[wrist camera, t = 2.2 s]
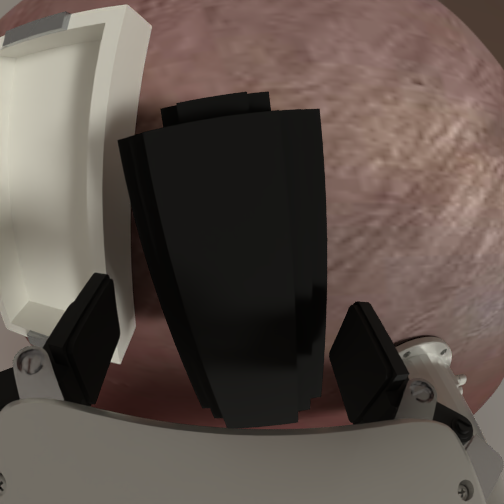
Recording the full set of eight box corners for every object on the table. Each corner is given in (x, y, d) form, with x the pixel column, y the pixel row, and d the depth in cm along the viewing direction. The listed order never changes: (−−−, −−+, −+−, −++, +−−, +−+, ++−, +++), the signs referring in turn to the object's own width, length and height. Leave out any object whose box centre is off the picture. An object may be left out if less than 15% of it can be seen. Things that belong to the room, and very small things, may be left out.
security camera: (219, 347, 24) (212, 450, 15) (170, 117, 16) (93, 121, 7) (300, 338, 24) (322, 440, 15) (283, 101, 16) (330, 81, 7)
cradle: (152, 26, 13) (123, 0, 8) (136, 326, 23) (118, 370, 18) (18, 49, 12) (-24, 45, 7) (29, 301, 22) (3, 333, 17)
